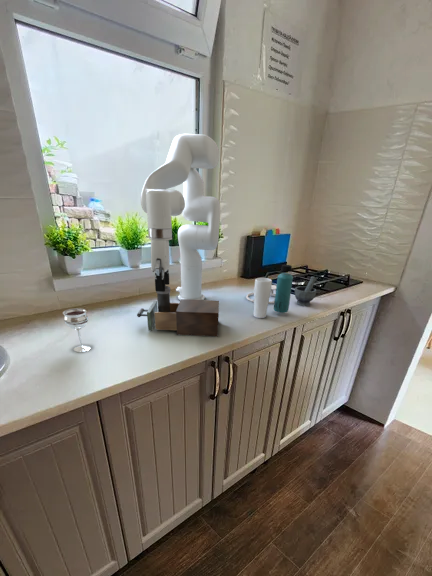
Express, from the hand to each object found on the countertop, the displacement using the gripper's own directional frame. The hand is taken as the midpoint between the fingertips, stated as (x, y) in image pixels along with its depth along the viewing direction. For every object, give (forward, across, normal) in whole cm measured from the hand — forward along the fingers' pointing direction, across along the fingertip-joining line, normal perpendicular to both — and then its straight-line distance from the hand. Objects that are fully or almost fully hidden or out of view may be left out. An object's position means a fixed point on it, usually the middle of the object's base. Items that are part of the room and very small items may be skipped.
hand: (162, 287), depth 113 cm
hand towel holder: (+14, -43, +42) cm, 62 cm away
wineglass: (+15, +21, -23) cm, 35 cm away
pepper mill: (+13, 0, 0) cm, 13 cm away
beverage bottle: (+14, -21, +46) cm, 53 cm away
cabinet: (+15, 0, +13) cm, 19 cm away
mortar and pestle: (+14, -37, +60) cm, 72 cm away
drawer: (+14, 0, 0) cm, 14 cm away
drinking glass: (+14, -16, +37) cm, 43 cm away
